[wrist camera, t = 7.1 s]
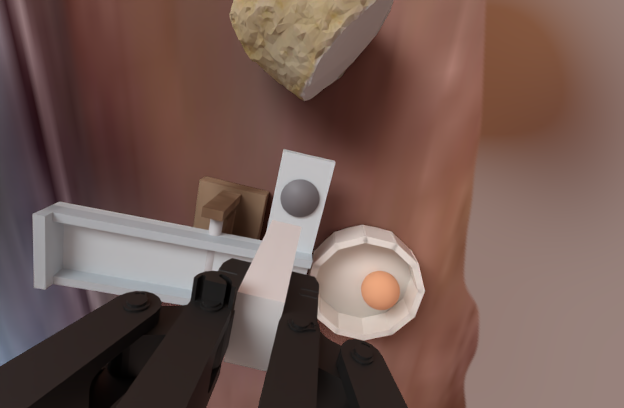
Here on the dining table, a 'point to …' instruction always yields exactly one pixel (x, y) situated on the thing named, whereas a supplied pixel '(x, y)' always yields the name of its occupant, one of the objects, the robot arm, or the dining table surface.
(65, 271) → the lever
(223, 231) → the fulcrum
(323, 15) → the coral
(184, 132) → the dining table surface
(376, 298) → the ball
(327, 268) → the bowl
